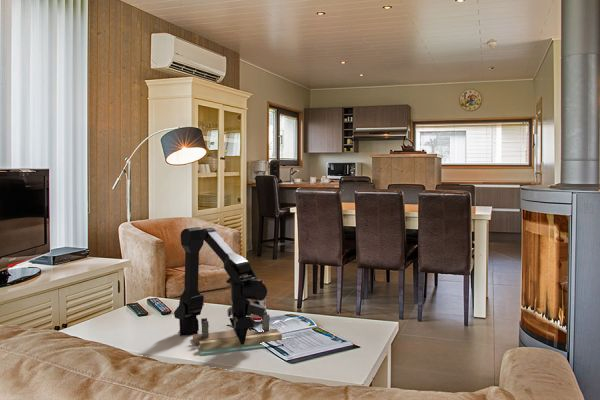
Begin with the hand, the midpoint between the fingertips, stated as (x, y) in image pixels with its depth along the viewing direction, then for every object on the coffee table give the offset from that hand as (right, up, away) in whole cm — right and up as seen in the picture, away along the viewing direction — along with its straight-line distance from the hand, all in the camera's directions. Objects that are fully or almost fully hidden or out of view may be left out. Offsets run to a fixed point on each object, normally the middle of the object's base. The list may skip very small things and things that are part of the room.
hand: (241, 341), depth 182 cm
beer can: (+4, 0, +31) cm, 31 cm away
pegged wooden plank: (-3, 0, +10) cm, 11 cm away
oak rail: (0, -1, 0) cm, 1 cm away
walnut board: (-3, -1, +10) cm, 11 cm away
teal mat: (0, -2, 0) cm, 2 cm away
